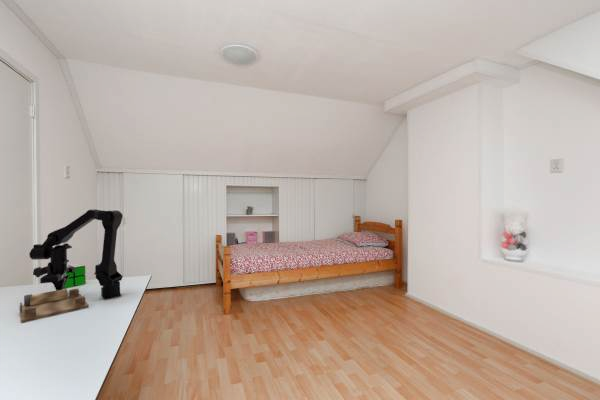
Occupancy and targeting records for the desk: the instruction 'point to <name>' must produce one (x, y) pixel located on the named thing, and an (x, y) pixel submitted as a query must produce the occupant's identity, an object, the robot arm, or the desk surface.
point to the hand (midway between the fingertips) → (59, 293)
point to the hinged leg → (45, 297)
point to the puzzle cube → (76, 276)
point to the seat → (53, 307)
